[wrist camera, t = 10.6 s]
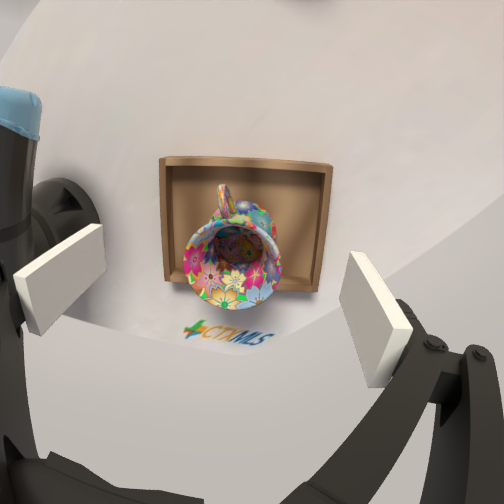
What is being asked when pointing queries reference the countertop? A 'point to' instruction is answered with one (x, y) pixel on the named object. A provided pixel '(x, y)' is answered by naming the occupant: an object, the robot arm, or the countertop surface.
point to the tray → (253, 190)
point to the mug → (234, 255)
